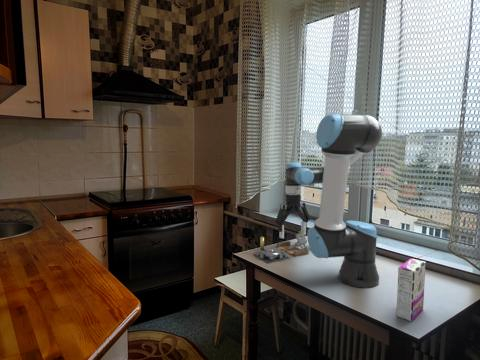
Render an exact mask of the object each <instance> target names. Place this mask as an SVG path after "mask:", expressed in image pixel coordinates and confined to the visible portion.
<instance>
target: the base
mask: <svg viewBox="0 0 480 360" xmlns="http://www.w3.org/2000/svg"><path fill="white" fill-rule="evenodd" d="M253 256H254V257H256V258H258V259H259V260H261V261H263V262H265V263H266V264H271V263H276V262H279V261H280V262H281V261H285V260H290V256H289V255H286V254H285V256H283V258H274V259H270V258H261V257H260V255H258V252H255V253H253Z"/></svg>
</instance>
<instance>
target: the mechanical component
mask: <svg viewBox="0 0 480 360" xmlns="http://www.w3.org/2000/svg"><path fill="white" fill-rule="evenodd" d="M306 238H307V237H306V235H304V234H303V232H301V230H298V233H296V234H295V239H296V241H295V242H294V243H293V244H291V245H292V246H290V247H288V250H291V249H293V248H295V247H297V248H299V247H300V249H301V250H304V249H308V251H309V250H310V247H309V245H306V244H308V239H306Z"/></svg>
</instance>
